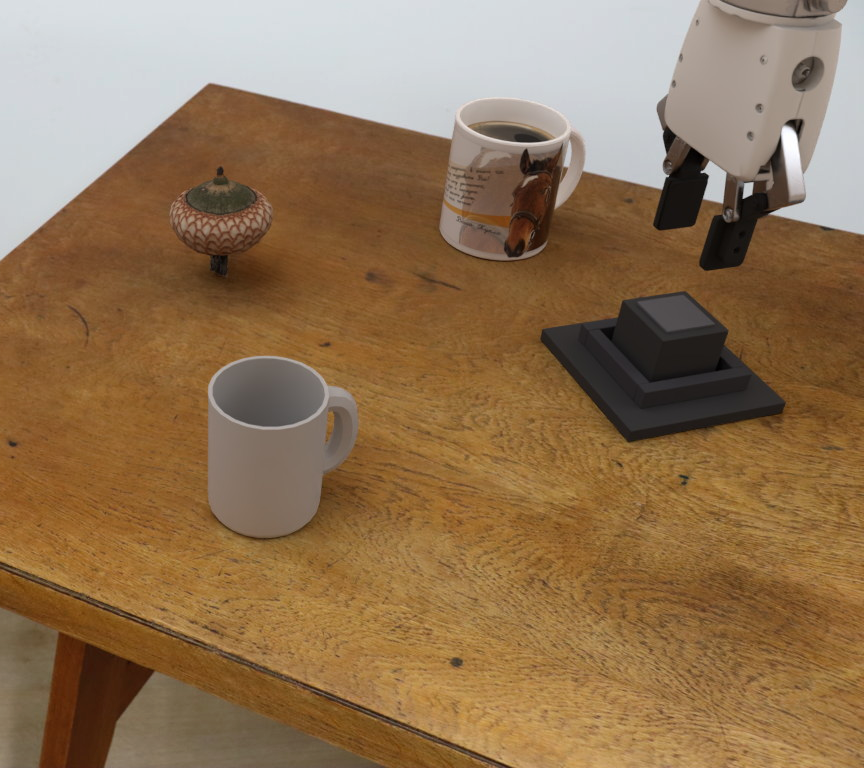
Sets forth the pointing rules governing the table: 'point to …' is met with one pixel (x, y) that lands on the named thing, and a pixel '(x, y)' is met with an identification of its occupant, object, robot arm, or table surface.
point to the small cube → (669, 336)
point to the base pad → (657, 386)
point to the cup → (273, 443)
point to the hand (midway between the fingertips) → (696, 243)
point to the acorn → (220, 219)
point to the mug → (507, 176)
